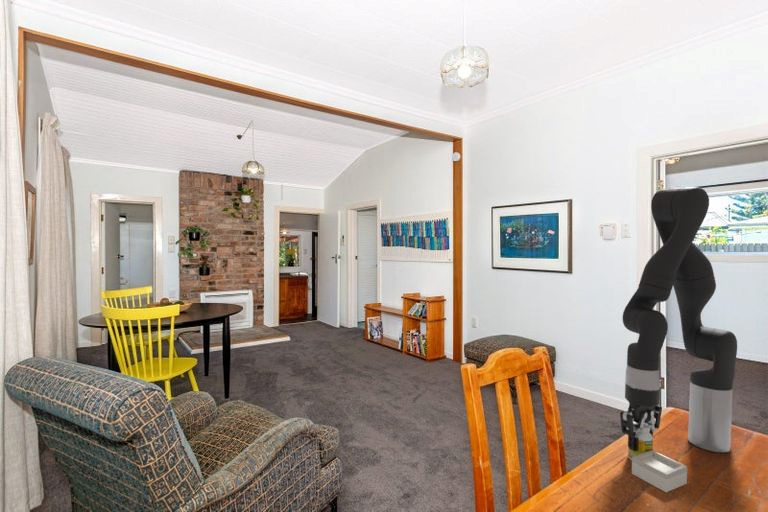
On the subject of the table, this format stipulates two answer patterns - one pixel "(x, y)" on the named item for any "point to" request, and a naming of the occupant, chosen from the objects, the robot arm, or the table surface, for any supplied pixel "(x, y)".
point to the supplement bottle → (642, 441)
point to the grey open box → (659, 470)
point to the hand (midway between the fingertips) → (640, 447)
